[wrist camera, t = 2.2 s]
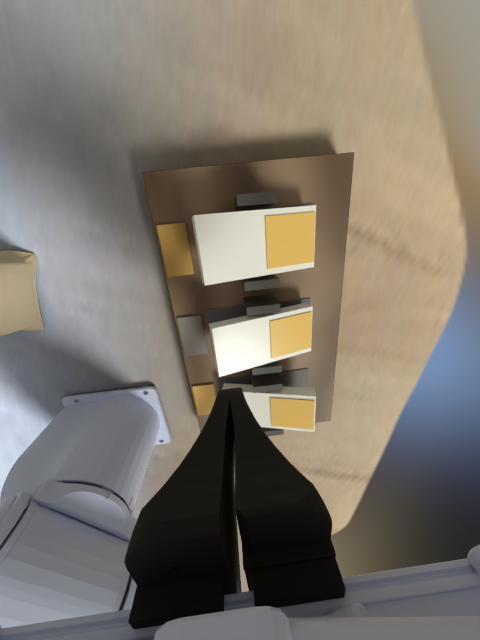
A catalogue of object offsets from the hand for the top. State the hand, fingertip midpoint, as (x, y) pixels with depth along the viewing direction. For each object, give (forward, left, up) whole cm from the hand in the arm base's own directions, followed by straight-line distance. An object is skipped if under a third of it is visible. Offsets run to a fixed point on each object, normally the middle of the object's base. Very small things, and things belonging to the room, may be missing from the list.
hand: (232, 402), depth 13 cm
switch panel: (+3, +1, -9) cm, 10 cm away
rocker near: (+3, +8, -5) cm, 10 cm away
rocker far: (+3, -6, -5) cm, 8 cm away
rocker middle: (+3, +1, -5) cm, 6 cm away
